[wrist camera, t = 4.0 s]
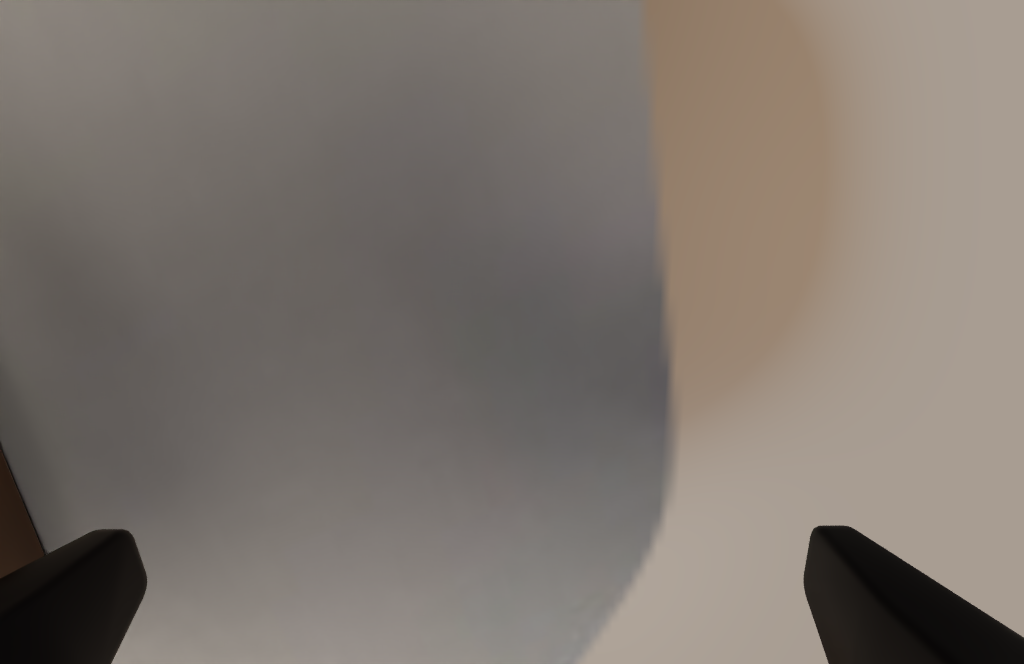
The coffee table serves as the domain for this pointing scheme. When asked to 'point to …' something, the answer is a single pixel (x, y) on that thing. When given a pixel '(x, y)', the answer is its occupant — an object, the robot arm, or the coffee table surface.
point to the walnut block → (15, 527)
